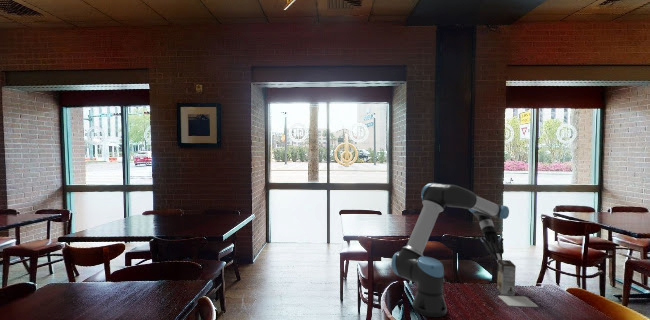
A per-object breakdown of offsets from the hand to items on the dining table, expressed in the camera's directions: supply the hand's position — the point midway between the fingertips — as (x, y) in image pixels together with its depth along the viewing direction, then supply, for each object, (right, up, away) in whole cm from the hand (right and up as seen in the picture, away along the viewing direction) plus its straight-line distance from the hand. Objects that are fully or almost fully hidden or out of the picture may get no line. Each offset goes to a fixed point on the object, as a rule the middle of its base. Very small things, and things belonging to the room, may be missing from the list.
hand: (500, 265), depth 181 cm
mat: (-1, -13, -17) cm, 21 cm away
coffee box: (-1, -13, -6) cm, 14 cm away
